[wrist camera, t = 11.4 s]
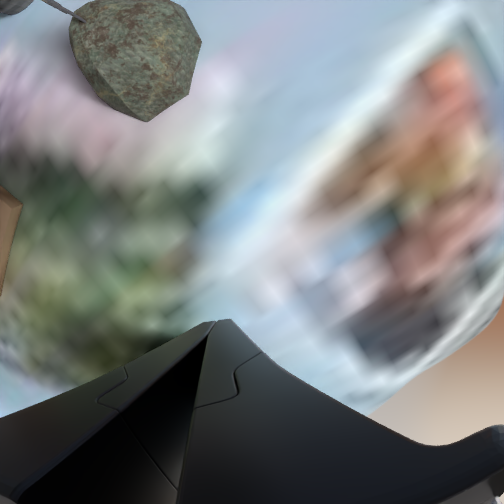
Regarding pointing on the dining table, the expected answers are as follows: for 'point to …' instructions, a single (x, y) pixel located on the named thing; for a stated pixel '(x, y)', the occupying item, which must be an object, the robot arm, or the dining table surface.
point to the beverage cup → (13, 6)
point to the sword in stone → (135, 52)
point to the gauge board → (7, 227)
